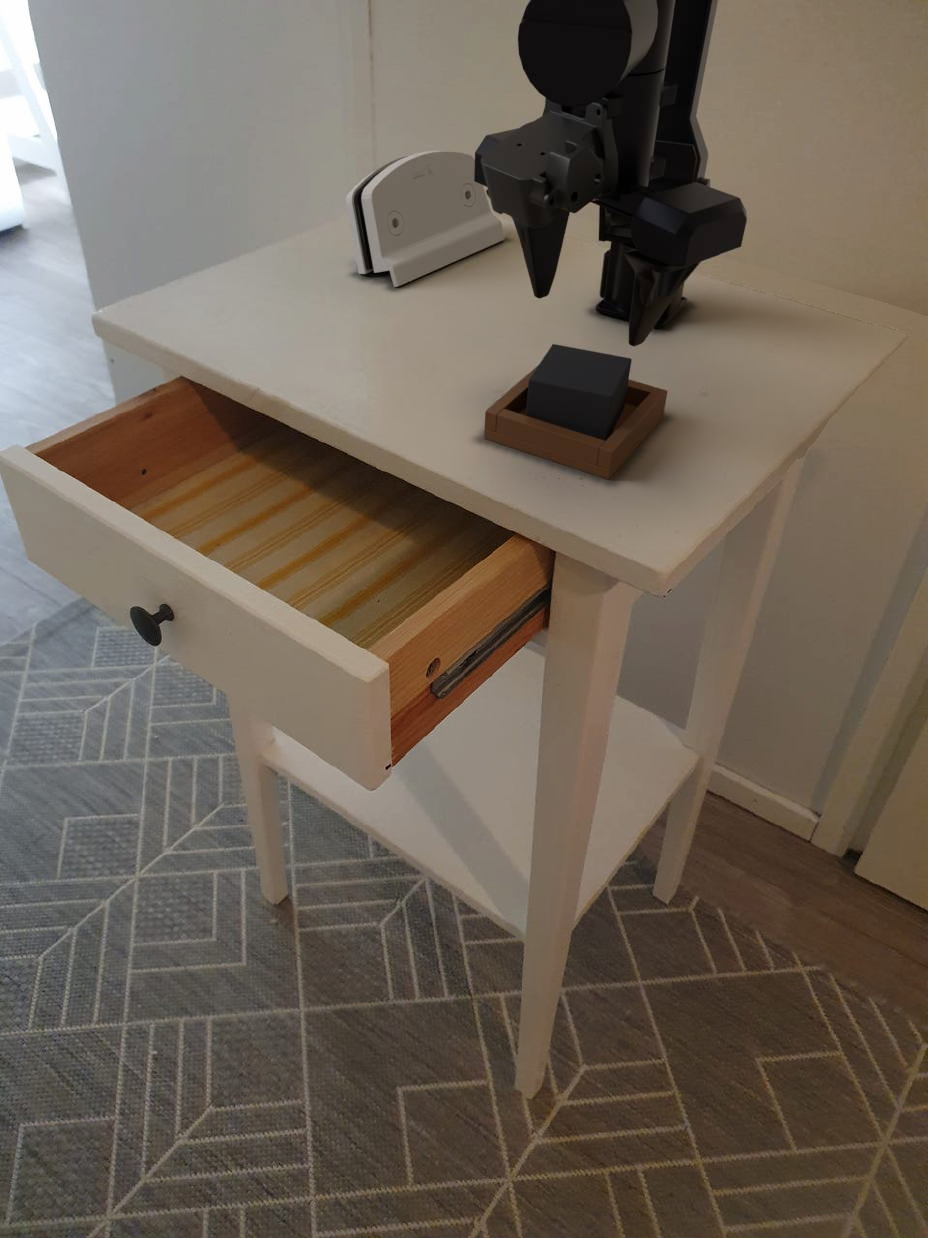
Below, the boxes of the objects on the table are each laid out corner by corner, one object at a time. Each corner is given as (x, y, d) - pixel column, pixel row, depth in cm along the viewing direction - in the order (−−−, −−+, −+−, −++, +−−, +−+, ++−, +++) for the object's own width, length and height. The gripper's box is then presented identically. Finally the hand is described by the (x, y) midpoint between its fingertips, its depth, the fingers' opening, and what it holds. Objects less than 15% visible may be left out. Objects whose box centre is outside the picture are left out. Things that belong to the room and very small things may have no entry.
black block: (624, 407, 73) (632, 358, 70) (605, 446, 69) (612, 396, 66) (548, 391, 74) (552, 343, 72) (524, 429, 70) (528, 379, 68)
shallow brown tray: (663, 417, 74) (668, 390, 72) (608, 479, 67) (612, 451, 66) (545, 382, 77) (548, 355, 76) (483, 438, 71) (484, 410, 69)
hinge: (395, 287, 90) (364, 172, 85) (361, 290, 93) (329, 179, 88) (507, 238, 99) (485, 131, 95) (473, 242, 102) (450, 139, 98)
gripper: (407, 49, 58) (411, 302, 68) (638, 125, 47) (600, 411, 57) (545, 27, 63) (529, 265, 73) (780, 91, 52) (722, 358, 63)
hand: (586, 319), depth 67 cm, fingers open, 9 cm apart
